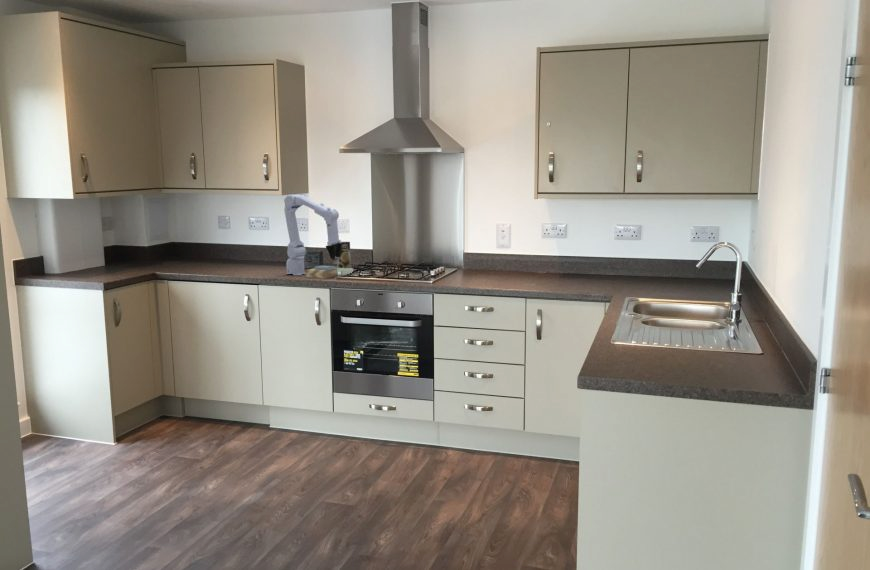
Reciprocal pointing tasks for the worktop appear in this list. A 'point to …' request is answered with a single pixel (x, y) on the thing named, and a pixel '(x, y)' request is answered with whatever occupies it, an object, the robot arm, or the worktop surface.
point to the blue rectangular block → (324, 267)
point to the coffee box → (343, 257)
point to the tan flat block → (321, 273)
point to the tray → (344, 271)
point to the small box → (313, 259)
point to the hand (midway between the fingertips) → (335, 257)
